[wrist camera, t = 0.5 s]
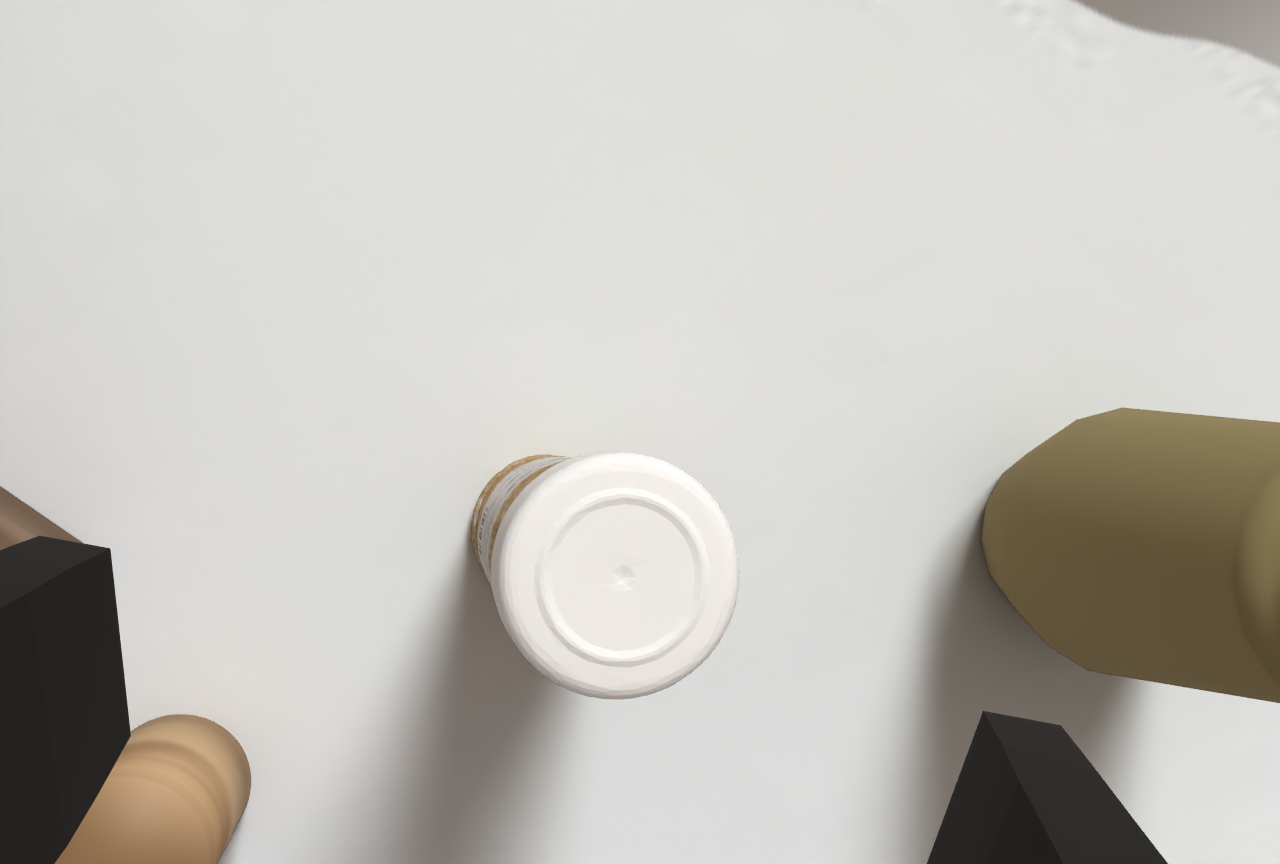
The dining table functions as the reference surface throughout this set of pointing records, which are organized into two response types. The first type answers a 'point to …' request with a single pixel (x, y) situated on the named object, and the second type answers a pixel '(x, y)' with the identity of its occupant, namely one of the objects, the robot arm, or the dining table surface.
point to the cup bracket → (24, 523)
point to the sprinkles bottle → (607, 569)
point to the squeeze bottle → (1148, 548)
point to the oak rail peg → (166, 797)
